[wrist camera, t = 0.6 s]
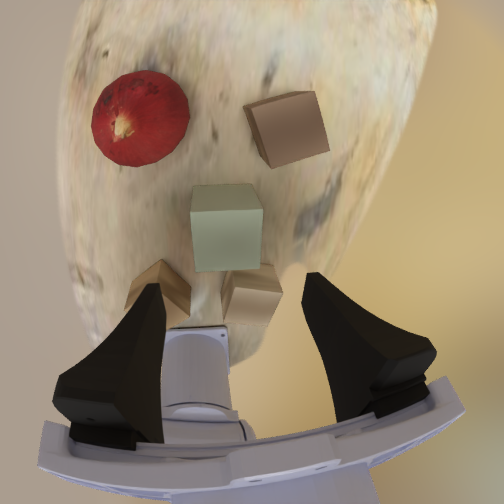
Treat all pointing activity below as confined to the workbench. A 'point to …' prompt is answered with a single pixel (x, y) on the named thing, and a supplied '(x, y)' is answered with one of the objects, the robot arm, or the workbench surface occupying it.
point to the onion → (140, 118)
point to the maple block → (250, 295)
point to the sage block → (226, 227)
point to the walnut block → (287, 127)
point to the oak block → (164, 292)
